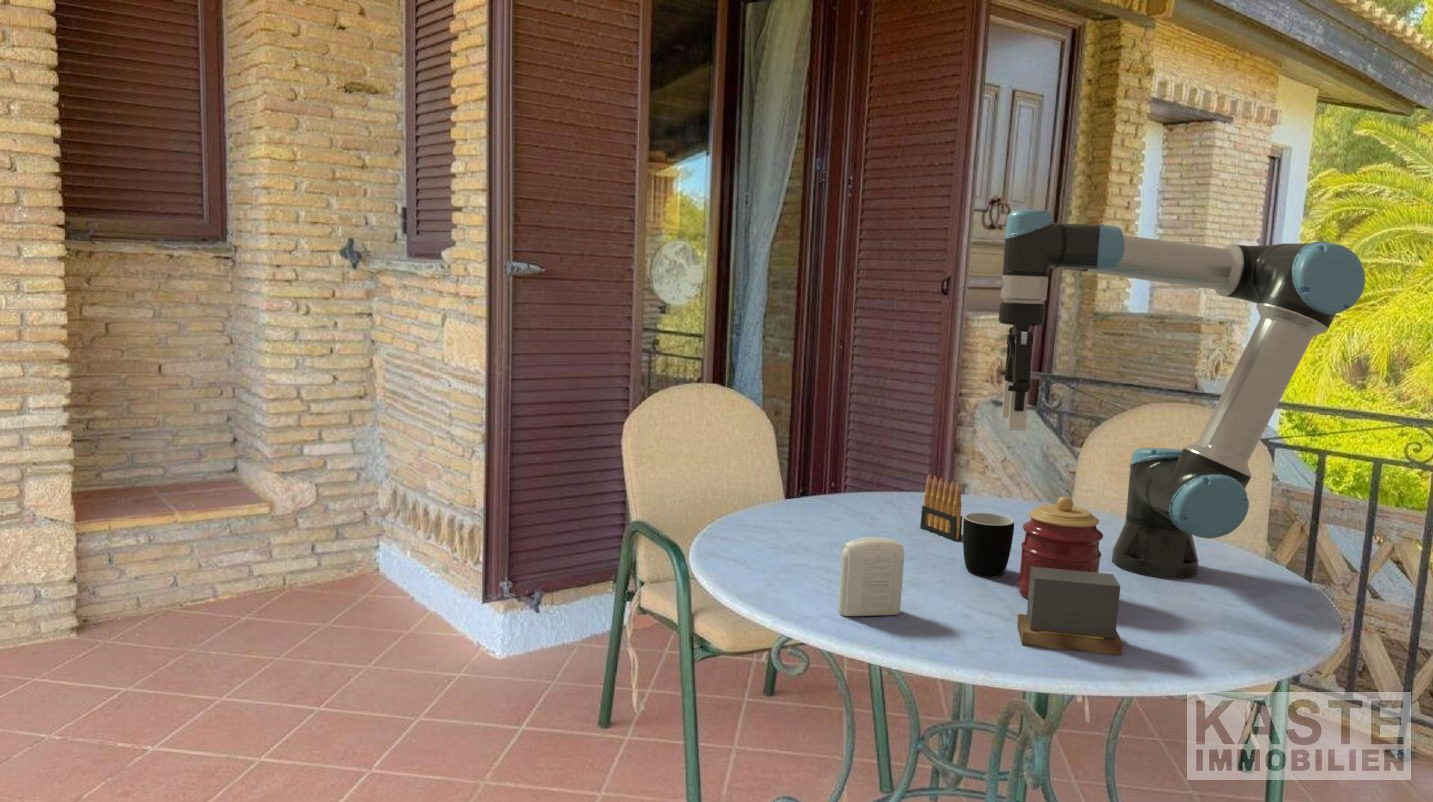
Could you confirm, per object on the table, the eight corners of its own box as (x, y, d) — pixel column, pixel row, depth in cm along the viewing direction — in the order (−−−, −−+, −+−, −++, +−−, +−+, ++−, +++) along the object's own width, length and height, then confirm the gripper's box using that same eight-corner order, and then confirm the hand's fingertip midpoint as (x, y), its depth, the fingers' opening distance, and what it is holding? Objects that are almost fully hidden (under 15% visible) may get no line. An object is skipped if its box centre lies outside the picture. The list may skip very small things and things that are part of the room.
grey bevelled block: (1108, 624, 153) (1112, 574, 152) (1115, 638, 147) (1120, 586, 146) (1026, 616, 155) (1030, 566, 154) (1030, 629, 149) (1034, 578, 148)
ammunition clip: (961, 540, 205) (965, 483, 203) (954, 541, 204) (958, 484, 202) (926, 527, 214) (930, 472, 213) (919, 528, 213) (923, 473, 212)
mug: (1019, 578, 181) (1024, 524, 179) (975, 581, 179) (979, 525, 177) (985, 559, 192) (989, 507, 191) (943, 561, 190) (947, 509, 189)
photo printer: (893, 607, 163) (898, 533, 162) (904, 616, 159) (909, 541, 157) (833, 609, 161) (838, 535, 159) (843, 619, 157) (847, 542, 155)
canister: (1008, 583, 178) (1016, 486, 176) (1082, 586, 178) (1091, 489, 175) (1029, 608, 165) (1037, 504, 163) (1108, 612, 165) (1118, 507, 162)
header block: (1111, 636, 154) (1115, 595, 153) (1121, 655, 146) (1125, 613, 145) (1017, 626, 156) (1020, 586, 156) (1022, 644, 149) (1025, 602, 148)
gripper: (995, 298, 184) (986, 412, 187) (1006, 303, 160) (995, 433, 163) (1037, 300, 182) (1028, 415, 185) (1055, 305, 158) (1043, 437, 161)
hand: (1012, 424), depth 174 cm, fingers open, 13 cm apart
